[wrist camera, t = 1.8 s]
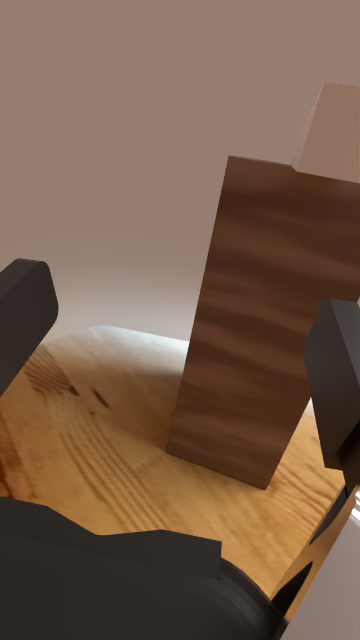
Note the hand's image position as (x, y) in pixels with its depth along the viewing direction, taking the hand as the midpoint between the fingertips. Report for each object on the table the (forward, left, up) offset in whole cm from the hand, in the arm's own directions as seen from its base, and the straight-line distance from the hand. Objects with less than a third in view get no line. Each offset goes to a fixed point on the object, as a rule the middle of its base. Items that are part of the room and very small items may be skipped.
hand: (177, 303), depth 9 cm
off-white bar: (-5, +20, +4) cm, 21 cm away
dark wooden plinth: (-7, +24, -28) cm, 38 cm away
